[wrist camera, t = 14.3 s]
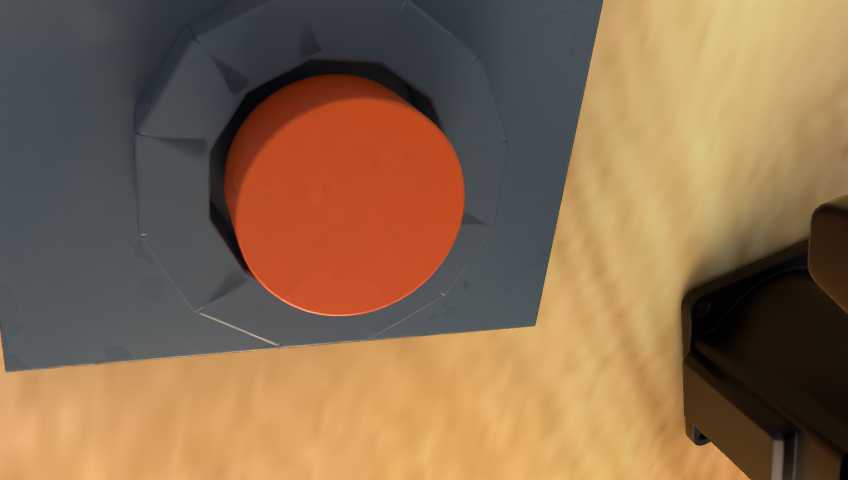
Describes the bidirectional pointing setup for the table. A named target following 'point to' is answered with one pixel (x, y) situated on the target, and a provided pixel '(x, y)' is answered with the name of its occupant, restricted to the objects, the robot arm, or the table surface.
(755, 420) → the robot arm
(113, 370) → the table surface
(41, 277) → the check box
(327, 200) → the button
